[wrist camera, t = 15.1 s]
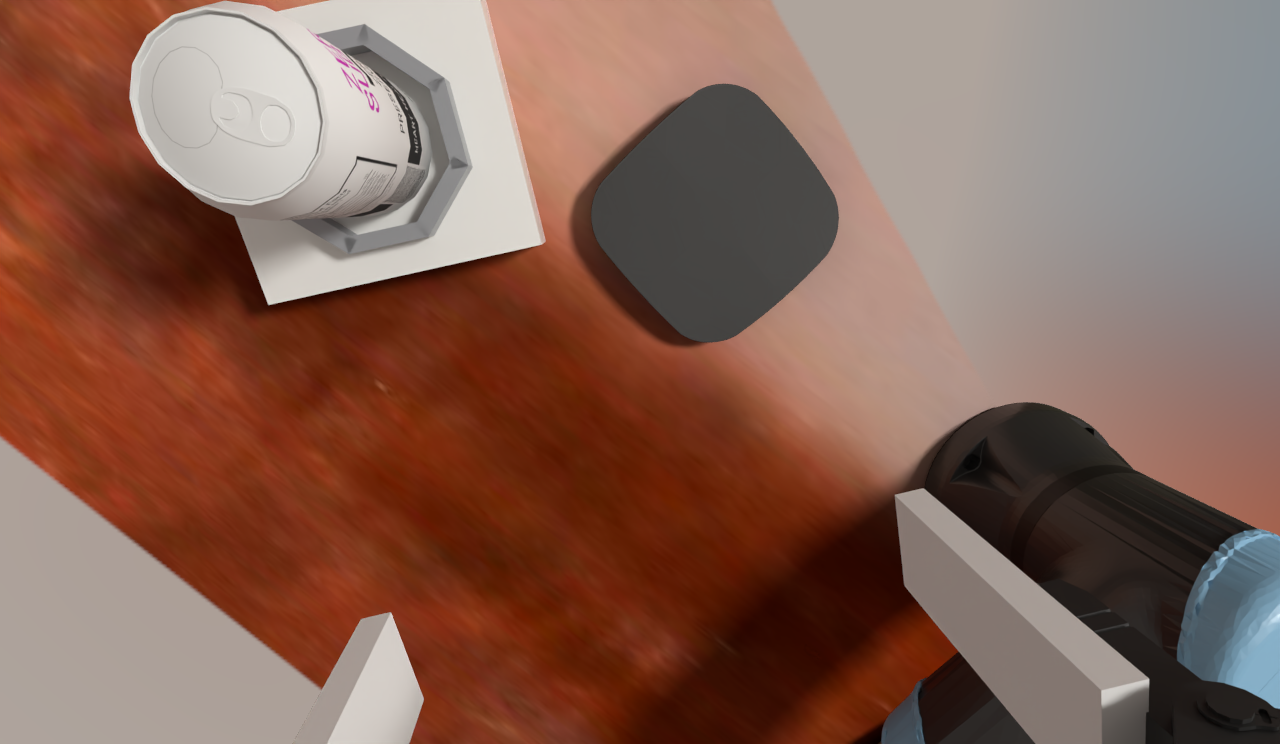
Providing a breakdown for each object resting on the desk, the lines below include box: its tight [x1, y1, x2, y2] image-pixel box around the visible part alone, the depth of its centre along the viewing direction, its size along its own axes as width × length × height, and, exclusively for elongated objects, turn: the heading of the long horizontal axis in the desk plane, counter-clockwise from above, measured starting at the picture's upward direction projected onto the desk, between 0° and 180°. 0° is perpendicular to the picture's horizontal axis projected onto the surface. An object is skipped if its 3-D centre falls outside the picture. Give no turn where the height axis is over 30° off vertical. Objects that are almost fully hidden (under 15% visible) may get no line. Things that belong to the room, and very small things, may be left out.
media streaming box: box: [591, 84, 839, 342], centre depth 44 cm, size 15×15×3 cm
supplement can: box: [130, 1, 432, 221], centre depth 31 cm, size 8×8×15 cm
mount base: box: [235, 0, 546, 305], centre depth 39 cm, size 18×16×6 cm
